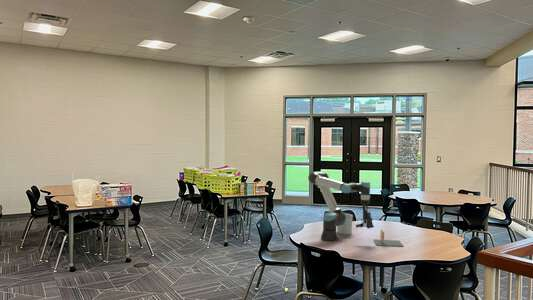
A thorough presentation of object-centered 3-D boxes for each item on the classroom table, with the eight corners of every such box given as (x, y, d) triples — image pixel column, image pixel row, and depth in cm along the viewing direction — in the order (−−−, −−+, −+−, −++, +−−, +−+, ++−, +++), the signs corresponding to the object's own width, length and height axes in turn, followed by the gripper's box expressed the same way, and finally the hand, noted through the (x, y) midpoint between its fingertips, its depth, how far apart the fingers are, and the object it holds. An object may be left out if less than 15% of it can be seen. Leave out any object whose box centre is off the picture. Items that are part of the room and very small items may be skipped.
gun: (352, 211, 341) (369, 207, 339) (356, 230, 341) (374, 226, 339) (352, 212, 339) (369, 208, 337) (357, 230, 338) (374, 227, 336)
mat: (376, 245, 329) (376, 244, 329) (373, 240, 347) (373, 239, 347) (403, 246, 326) (403, 245, 326) (399, 241, 344) (399, 240, 344)
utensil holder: (350, 231, 381) (350, 213, 381) (354, 234, 366) (354, 216, 366) (335, 231, 381) (335, 213, 381) (338, 234, 366) (339, 216, 366)
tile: (382, 243, 332) (382, 232, 332) (380, 240, 342) (380, 229, 342) (384, 243, 332) (384, 232, 332) (382, 240, 342) (382, 229, 342)
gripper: (370, 200, 330) (370, 228, 330) (368, 198, 346) (368, 224, 346) (361, 200, 331) (361, 228, 331) (359, 198, 347) (359, 224, 347)
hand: (364, 226), depth 339 cm, fingers closed on gun, 3 cm apart
